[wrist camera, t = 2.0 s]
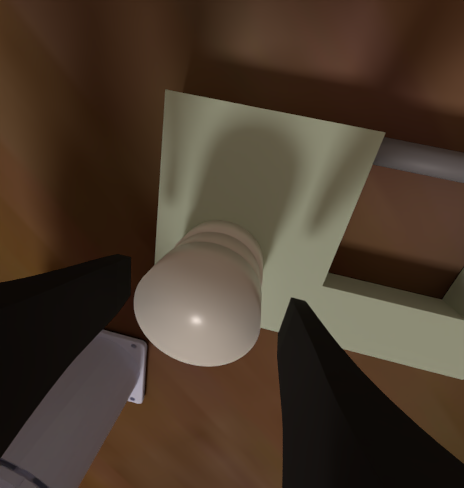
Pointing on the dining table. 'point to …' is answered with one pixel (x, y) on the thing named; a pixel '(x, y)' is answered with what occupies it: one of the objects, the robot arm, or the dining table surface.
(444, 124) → the dining table surface
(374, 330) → the pale green panel
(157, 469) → the dining table surface
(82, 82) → the dining table surface
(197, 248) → the white round knob
